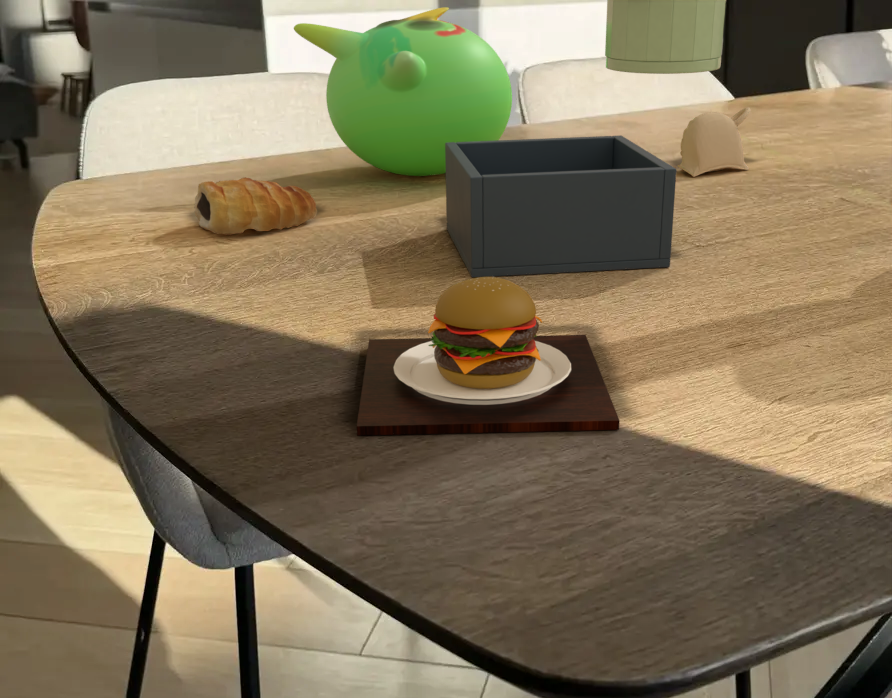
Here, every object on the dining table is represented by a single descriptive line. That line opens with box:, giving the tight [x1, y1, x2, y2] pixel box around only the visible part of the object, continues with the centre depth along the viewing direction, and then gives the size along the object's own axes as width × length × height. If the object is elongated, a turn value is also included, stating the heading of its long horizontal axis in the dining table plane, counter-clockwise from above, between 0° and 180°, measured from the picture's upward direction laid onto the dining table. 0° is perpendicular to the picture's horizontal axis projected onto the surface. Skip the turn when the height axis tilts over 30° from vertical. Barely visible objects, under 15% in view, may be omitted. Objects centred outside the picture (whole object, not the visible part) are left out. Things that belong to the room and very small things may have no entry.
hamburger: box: [356, 276, 620, 436], centre depth 55 cm, size 12×12×6 cm
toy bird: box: [293, 6, 513, 177], centre depth 103 cm, size 18×17×15 cm
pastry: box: [194, 177, 318, 236], centre depth 88 cm, size 9×7×4 cm
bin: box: [445, 135, 677, 278], centre depth 80 cm, size 14×14×7 cm
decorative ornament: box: [677, 107, 752, 178], centre depth 105 cm, size 4×8×5 cm, turn 116°
